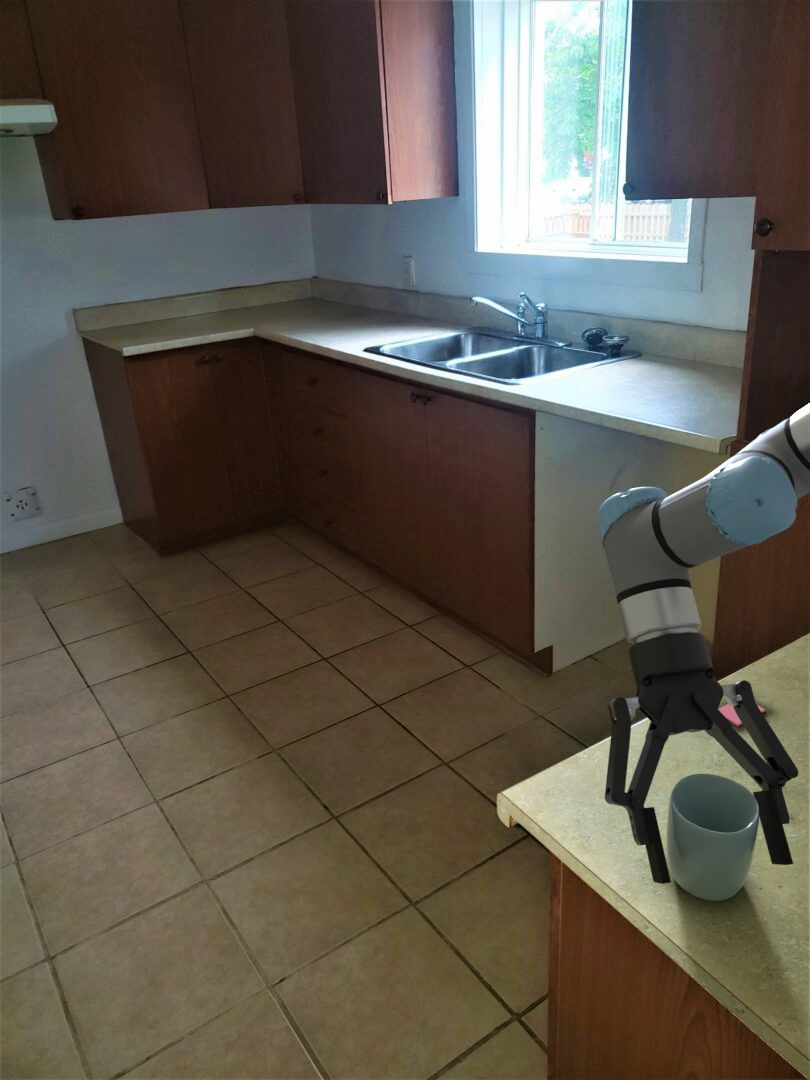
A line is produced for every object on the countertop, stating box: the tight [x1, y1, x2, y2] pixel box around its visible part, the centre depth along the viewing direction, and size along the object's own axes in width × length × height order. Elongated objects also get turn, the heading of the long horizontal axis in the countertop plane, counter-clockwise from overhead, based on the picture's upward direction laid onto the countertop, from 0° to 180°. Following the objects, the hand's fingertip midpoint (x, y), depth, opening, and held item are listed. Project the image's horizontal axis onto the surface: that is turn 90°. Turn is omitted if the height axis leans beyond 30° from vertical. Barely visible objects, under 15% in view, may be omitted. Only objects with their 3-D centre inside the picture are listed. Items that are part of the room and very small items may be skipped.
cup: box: [665, 773, 760, 902], centre depth 77 cm, size 8×8×10 cm
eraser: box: [718, 703, 767, 728], centre depth 100 cm, size 5×3×1 cm
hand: (722, 873), depth 75 cm, fingers open, 11 cm apart
